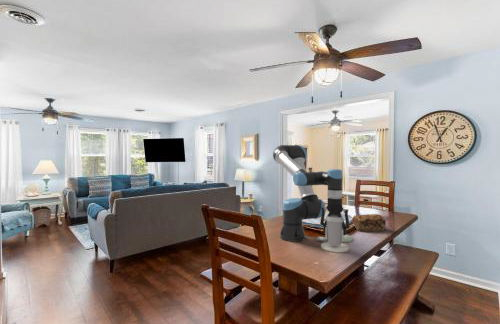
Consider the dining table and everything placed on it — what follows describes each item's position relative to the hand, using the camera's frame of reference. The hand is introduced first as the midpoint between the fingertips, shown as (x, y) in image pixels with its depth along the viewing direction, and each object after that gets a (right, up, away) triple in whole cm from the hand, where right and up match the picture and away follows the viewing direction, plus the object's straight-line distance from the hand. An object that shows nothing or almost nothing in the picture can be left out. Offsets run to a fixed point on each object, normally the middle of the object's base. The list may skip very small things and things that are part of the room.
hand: (334, 239), depth 135 cm
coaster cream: (0, -4, 0) cm, 4 cm away
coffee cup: (0, -2, 0) cm, 2 cm away
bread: (+35, -4, +34) cm, 49 cm away
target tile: (-3, -4, +13) cm, 14 cm away
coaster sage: (+9, -4, +16) cm, 18 cm away
